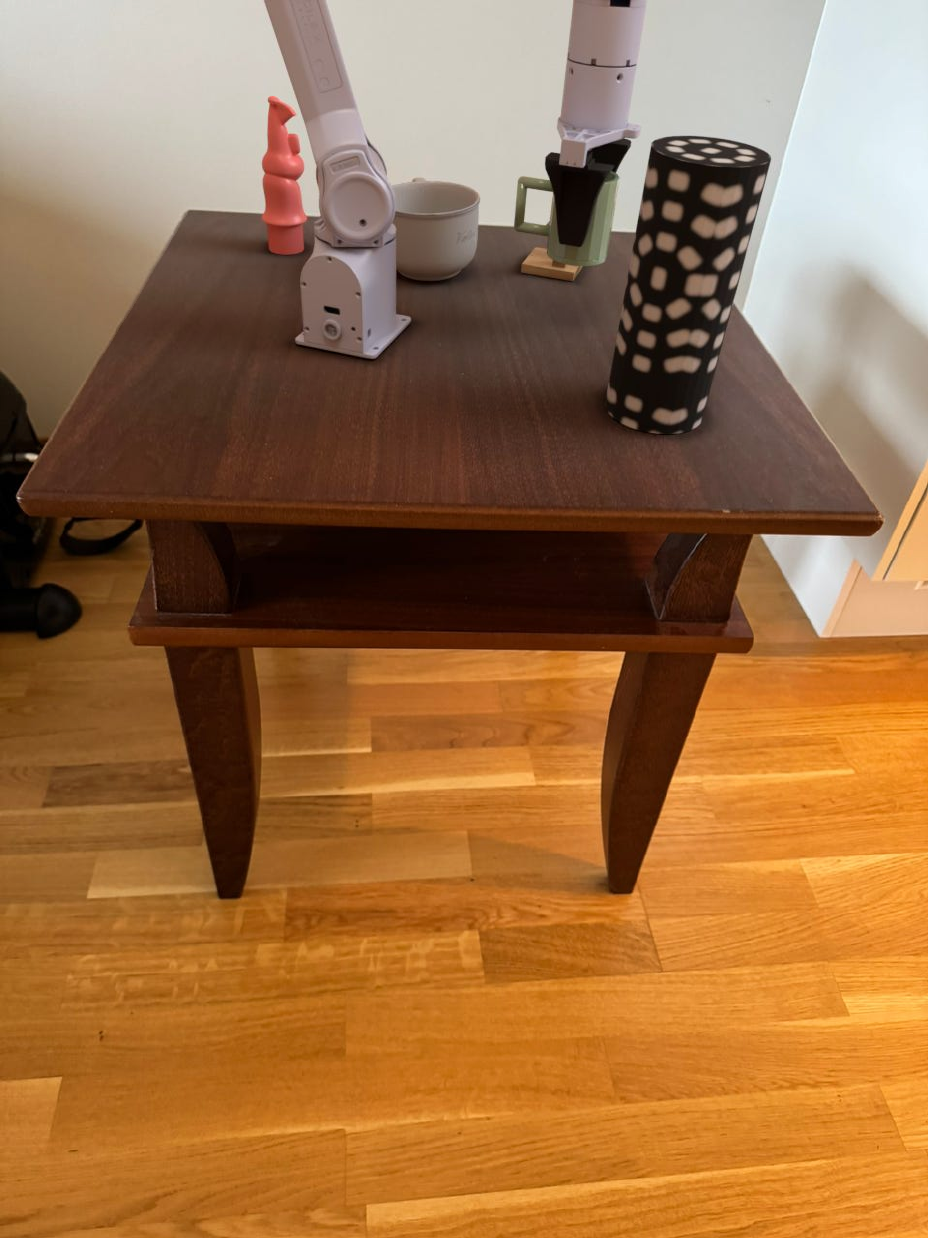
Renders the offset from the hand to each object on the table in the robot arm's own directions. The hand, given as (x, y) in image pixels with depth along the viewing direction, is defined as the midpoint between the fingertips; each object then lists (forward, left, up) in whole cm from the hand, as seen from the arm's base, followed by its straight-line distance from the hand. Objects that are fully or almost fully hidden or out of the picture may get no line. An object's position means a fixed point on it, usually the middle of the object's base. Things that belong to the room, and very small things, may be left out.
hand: (578, 234), depth 80 cm
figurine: (+8, +34, -9) cm, 36 cm away
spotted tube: (-13, -11, -9) cm, 19 cm away
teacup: (+10, +18, -9) cm, 22 cm away
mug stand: (+12, +5, -9) cm, 16 cm away
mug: (0, +2, -2) cm, 3 cm away
